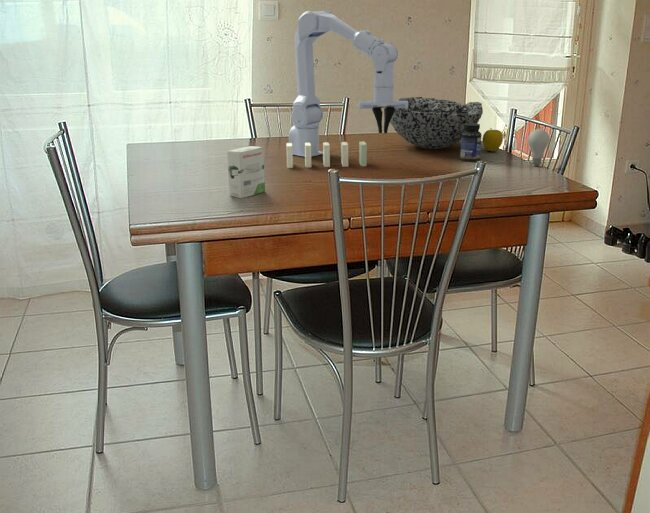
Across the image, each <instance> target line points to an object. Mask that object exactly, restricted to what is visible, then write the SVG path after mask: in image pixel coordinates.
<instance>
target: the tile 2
mask: <svg viewBox="0 0 650 513" xmlns="http://www.w3.org/2000/svg"><path fill="white" fill-rule="evenodd" d="M304 165H305V168H306V169H307V168H312V157H311V144H310V143H305V157H304Z"/></svg>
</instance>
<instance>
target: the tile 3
mask: <svg viewBox="0 0 650 513" xmlns="http://www.w3.org/2000/svg"><path fill="white" fill-rule="evenodd" d="M330 146H331V145H330V143H329V141H327V142H322V152H323V154H322V165H323V167H324V168H330V167H331V163H330V162H331V156H330V155H331V153H330V152H331V150H330V149H331V148H330Z"/></svg>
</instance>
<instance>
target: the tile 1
mask: <svg viewBox="0 0 650 513" xmlns="http://www.w3.org/2000/svg"><path fill="white" fill-rule="evenodd" d="M285 147H286V167H287V169H293V168H294V160H293V152H292V143H289V142H286V145H285Z"/></svg>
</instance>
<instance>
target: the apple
mask: <svg viewBox="0 0 650 513" xmlns="http://www.w3.org/2000/svg"><path fill="white" fill-rule="evenodd" d="M503 140H504V135H503V133H502V131H501V130H499V129H492V128H491V127H490V129H488V130H486V131H484V133H483V135H482V138H481V142H482V145H483V148H484V149H485V150H486V151H489V152H496V151H498V149H499V148H500V147H501V146H502V144H503Z"/></svg>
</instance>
